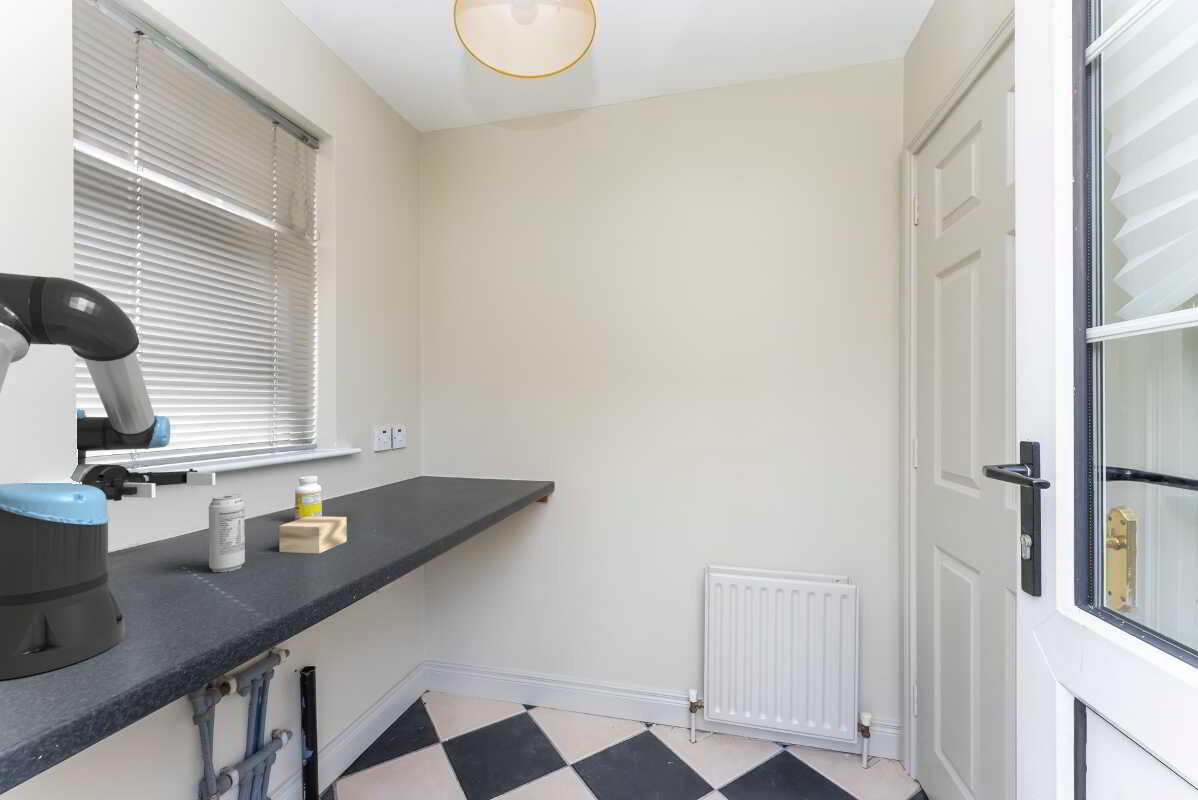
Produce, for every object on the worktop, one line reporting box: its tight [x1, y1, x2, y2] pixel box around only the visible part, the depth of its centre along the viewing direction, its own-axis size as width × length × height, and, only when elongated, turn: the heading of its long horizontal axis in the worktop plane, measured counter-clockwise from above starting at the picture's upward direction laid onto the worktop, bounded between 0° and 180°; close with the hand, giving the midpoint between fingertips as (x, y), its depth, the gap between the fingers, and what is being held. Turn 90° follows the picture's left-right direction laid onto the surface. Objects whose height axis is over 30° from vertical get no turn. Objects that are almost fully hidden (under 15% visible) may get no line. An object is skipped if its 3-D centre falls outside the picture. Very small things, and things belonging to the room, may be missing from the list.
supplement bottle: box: [294, 475, 323, 521], centre depth 149 cm, size 7×7×13 cm
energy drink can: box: [208, 493, 246, 573], centre depth 108 cm, size 6×6×15 cm
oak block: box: [278, 515, 348, 554], centre depth 123 cm, size 10×10×6 cm
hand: (185, 484), depth 109 cm, fingers open, 13 cm apart
